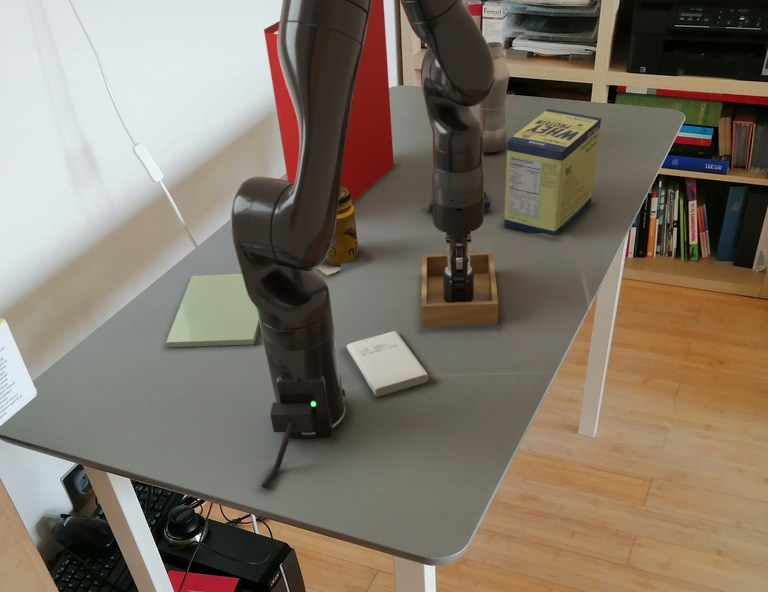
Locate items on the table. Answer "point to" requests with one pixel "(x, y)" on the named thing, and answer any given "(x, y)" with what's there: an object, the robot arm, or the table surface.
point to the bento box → (459, 313)
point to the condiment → (342, 236)
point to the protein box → (550, 171)
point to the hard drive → (387, 363)
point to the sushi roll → (448, 288)
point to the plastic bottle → (495, 104)
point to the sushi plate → (215, 313)
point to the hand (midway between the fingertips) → (458, 295)
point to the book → (367, 114)
